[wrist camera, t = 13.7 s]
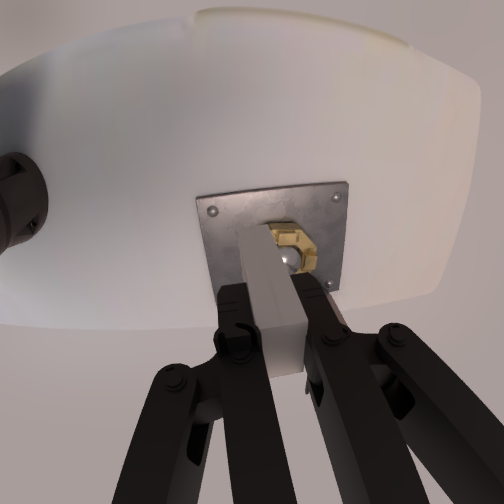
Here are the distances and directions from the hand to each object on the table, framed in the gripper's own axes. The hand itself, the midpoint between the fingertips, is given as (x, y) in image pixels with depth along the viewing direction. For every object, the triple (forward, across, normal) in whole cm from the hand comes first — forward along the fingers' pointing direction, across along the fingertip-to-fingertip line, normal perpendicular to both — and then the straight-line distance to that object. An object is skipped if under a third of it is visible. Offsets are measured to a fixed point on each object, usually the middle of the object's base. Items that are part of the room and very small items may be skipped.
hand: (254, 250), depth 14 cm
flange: (+24, +6, -15) cm, 29 cm away
